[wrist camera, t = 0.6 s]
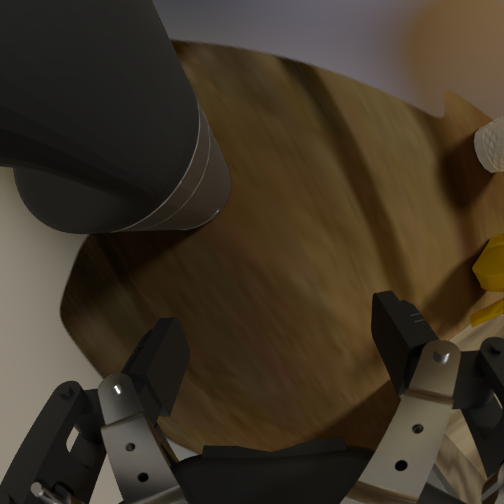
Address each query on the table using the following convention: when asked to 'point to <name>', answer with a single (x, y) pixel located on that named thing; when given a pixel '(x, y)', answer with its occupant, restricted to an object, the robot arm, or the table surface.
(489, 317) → the figure statuette
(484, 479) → the oak stand
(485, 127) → the white cup
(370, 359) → the table surface
